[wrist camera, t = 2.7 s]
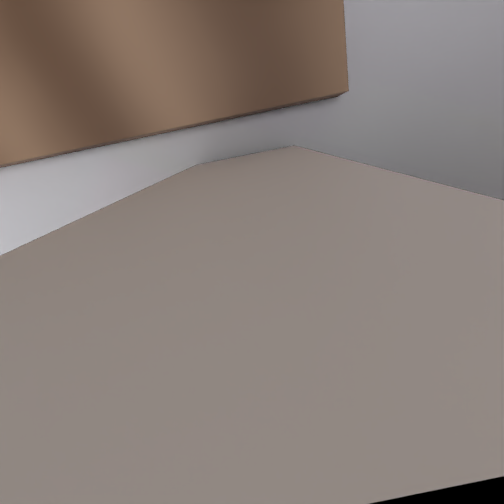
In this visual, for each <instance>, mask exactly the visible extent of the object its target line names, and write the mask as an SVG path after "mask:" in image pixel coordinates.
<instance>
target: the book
mask: <svg viewBox="0 0 504 504" xmlns="http://www.w3.org/2000/svg"><path fill="white" fill-rule="evenodd" d="M0 504H504V200H501V199H497V198H493V197H489V196H486V195H482V194H478V193H474V192H470V191H466V190H463V189H459V188H455V187H451V186H447V185H444V184H440V183H436V182H432V181H428V180H424V179H421V178H417V177H413V176H409V175H405V174H401V173H398V172H394V171H390V170H386V169H382V168H378V167H375V166H371V165H367V164H363V163H359V162H355V161H352V160H348V159H344V158H340V157H336V156H332V155H329V154H325V153H321V152H317V151H313V150H309V149H306V148H302V147H298V146H294V145H293V146H288V147H283V148H278V149H273V150H268V151H263V152H258V153H253V154H248V155H243V156H238V157H233V158H228V159H223V160H218V161H213V162H208V163H203V164H198V165H195V166H192V167H190V168H188V169H186V170H184V171H182V172H180V173H177V174H175V175H173V176H171V177H169V178H167V179H164V180H162V181H160V182H158V183H156V184H154V185H152V186H149V187H147V188H145V189H143V190H141V191H139V192H136V193H134V194H132V195H130V196H128V197H126V198H124V199H121V200H119V201H117V202H115V203H113V204H111V205H108V206H106V207H104V208H102V209H100V210H98V211H96V212H93V213H91V214H89V215H87V216H85V217H83V218H80V219H78V220H76V221H74V222H72V223H70V224H68V225H65V226H63V227H61V228H59V229H57V230H55V231H52V232H50V233H48V234H46V235H44V236H42V237H40V238H37V239H35V240H33V241H31V242H29V243H27V244H24V245H22V246H20V247H18V248H16V249H14V250H12V251H9V252H7V253H5V254H3V255H1V256H0Z"/></svg>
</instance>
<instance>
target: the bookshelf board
mask: <svg viewBox="0 0 504 504" xmlns="http://www.w3.org/2000/svg"><path fill="white" fill-rule="evenodd" d="M347 91H349V88H348V71H347V54H346V37H345V21H344V4H343V0H0V168H1V167H6V166H11V165H15V164H20V163H25V162H30V161H34V160H39V159H44V158H49V157H53V156H58V155H63V154H67V153H72V152H77V151H82V150H86V149H91V148H96V147H101V146H105V145H110V144H115V143H119V142H124V141H129V140H134V139H138V138H143V137H148V136H153V135H157V134H162V133H167V132H171V131H176V130H181V129H186V128H190V127H195V126H200V125H205V124H209V123H214V122H219V121H223V120H228V119H233V118H238V117H242V116H247V115H252V114H256V113H261V112H266V111H271V110H275V109H280V108H285V107H290V106H294V105H299V104H304V103H308V102H313V101H318V100H323V99H327V98H332V97H337V96H339V95H341V94H343V93H345V92H347Z"/></svg>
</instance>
